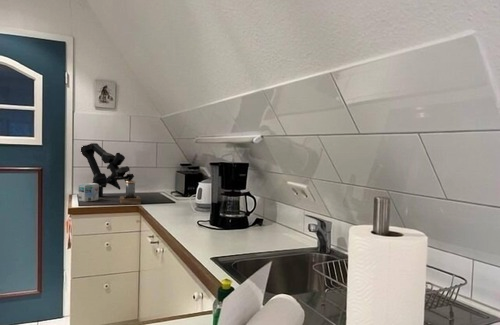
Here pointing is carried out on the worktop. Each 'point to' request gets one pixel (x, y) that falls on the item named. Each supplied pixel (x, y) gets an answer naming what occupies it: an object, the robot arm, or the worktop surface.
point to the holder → (130, 200)
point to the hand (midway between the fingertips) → (125, 188)
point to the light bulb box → (88, 192)
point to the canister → (130, 189)
